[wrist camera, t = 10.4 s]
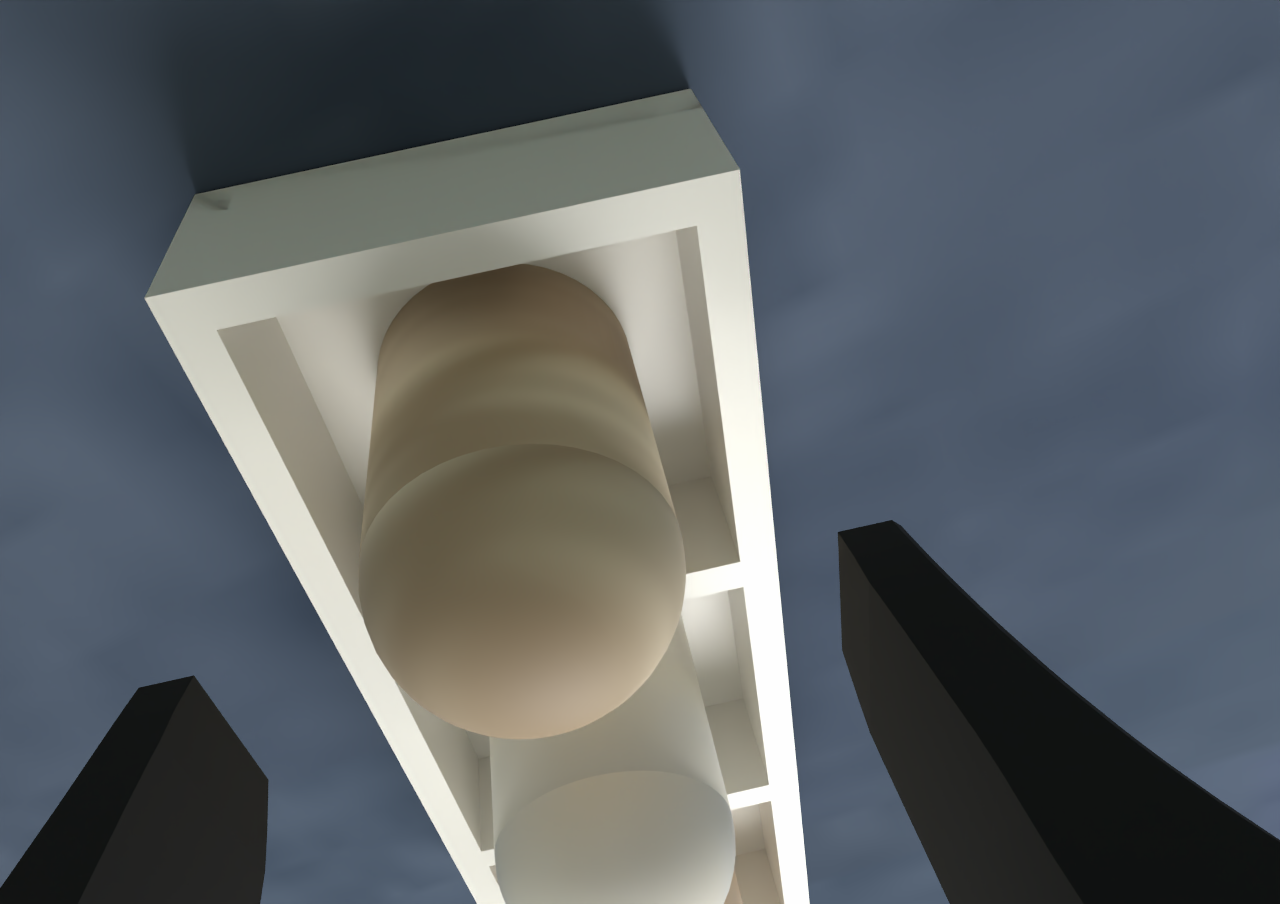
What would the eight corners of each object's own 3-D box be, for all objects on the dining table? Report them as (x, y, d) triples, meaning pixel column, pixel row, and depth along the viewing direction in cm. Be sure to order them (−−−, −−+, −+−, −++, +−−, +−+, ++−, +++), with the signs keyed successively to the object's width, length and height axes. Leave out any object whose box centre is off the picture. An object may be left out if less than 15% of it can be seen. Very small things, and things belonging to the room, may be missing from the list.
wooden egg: (608, 236, 14) (694, 529, 9) (648, 445, 17) (733, 763, 12) (340, 294, 14) (285, 622, 9) (420, 495, 17) (411, 838, 12)
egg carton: (690, 88, 14) (853, 357, 8) (780, 828, 27) (868, 1128, 21) (194, 194, 14) (25, 540, 8) (524, 887, 27) (545, 1206, 21)
